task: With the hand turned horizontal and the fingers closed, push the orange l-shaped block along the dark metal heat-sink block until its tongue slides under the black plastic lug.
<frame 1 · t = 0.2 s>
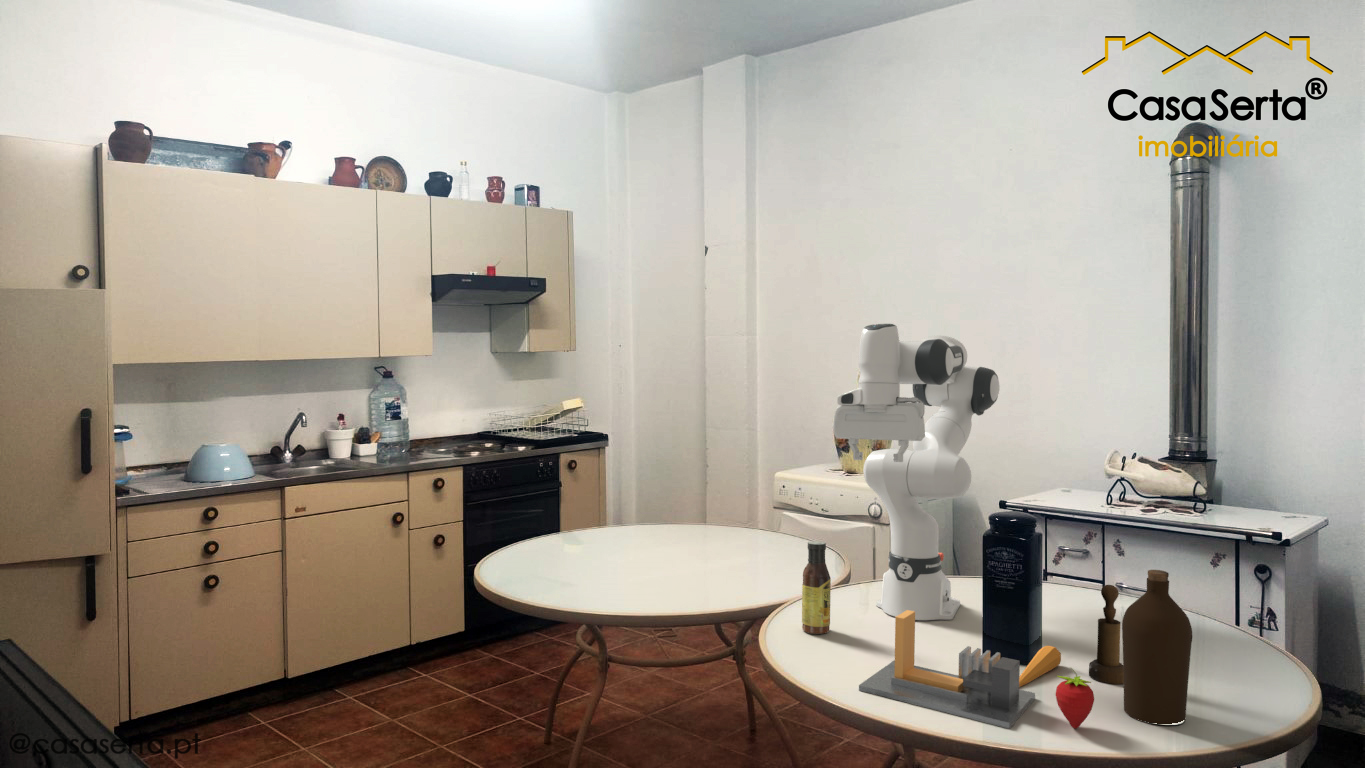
hand: (877, 461, 189), 39 cm above the table, tool pointing down, fingers open, 8 cm apart
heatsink: (946, 694, 159), on the table
orange l-shaped block: (930, 651, 161), point 7 cm above the table, slide at 0.0 cm
carrot: (1031, 678, 168), on the table
sauce bottle: (815, 631, 195), on the table
strawberry: (1073, 729, 145), on the table
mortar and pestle: (1107, 679, 168), on the table
olive oil: (1154, 716, 151), on the table
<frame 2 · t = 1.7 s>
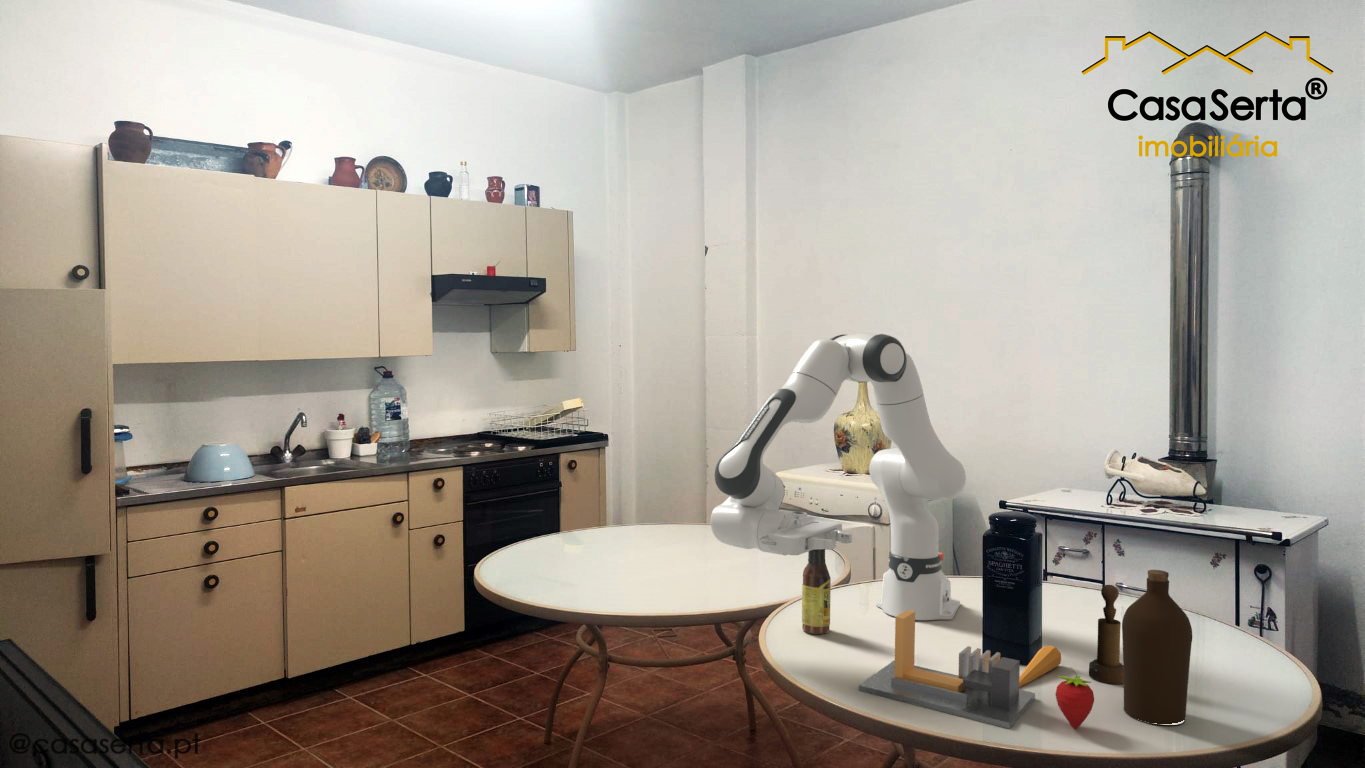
hand: (842, 542, 171), 25 cm above the table, tool horizontal, fingers open, 6 cm apart
nothing on the table moved.
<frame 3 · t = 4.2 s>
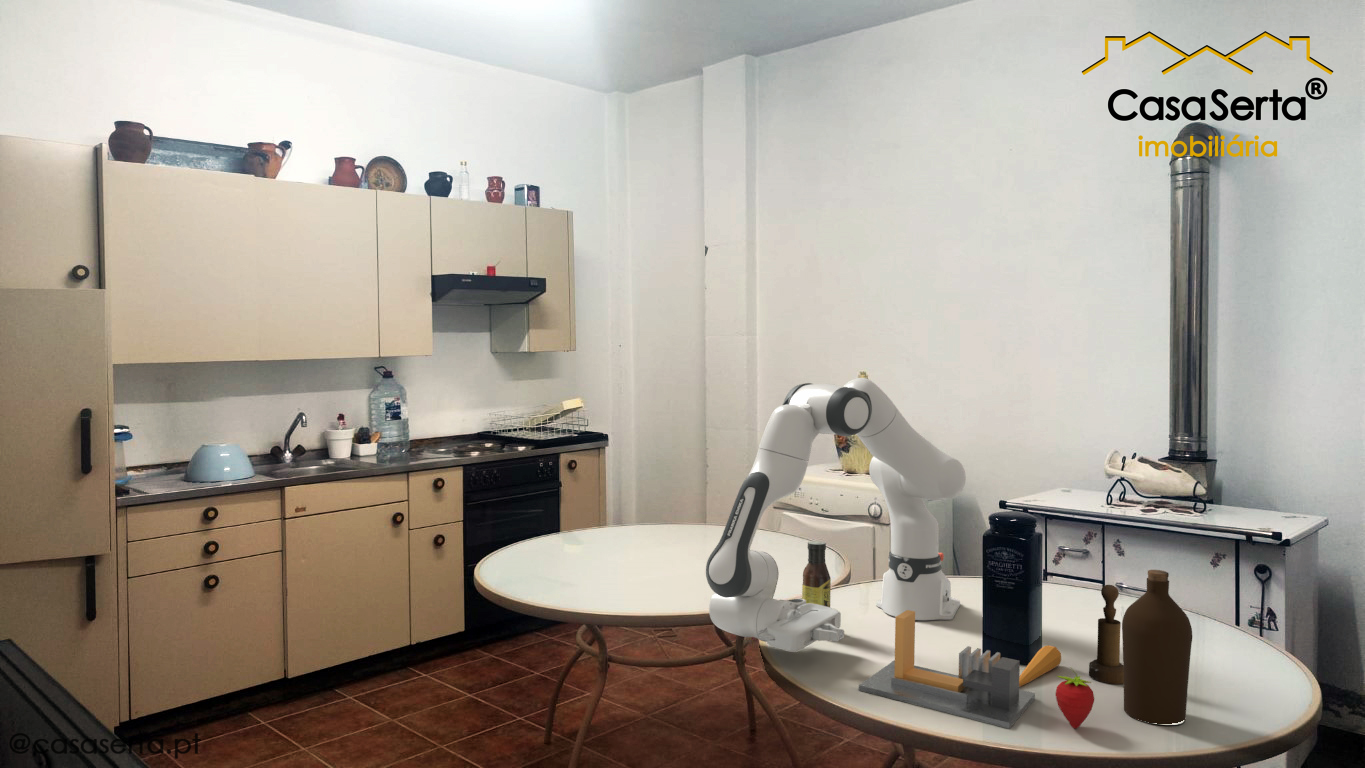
hand: (841, 635, 171), 7 cm above the table, tool horizontal, fingers closed
nothing on the table moved.
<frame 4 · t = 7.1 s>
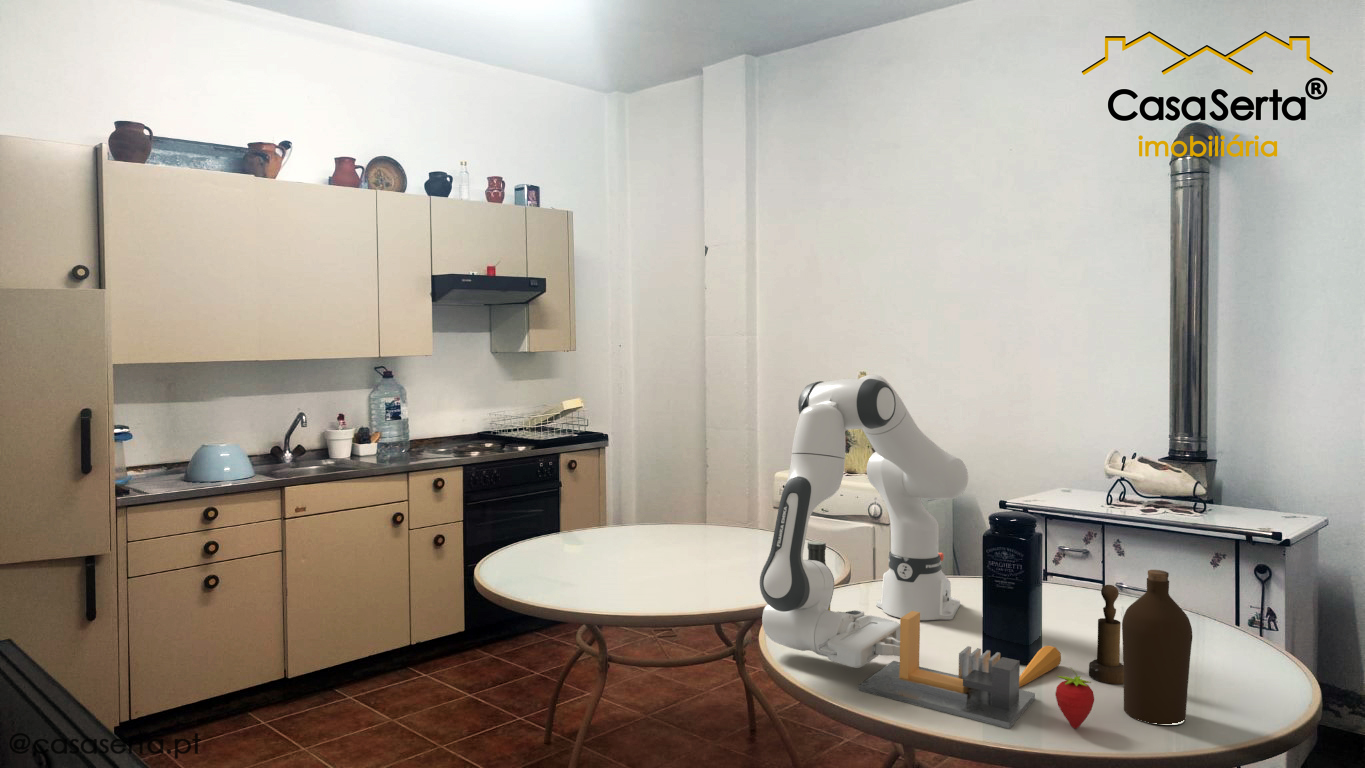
hand: (905, 650, 163), 6 cm above the table, tool horizontal, fingers closed, pressing on orange l-shaped block
orange l-shaped block: (935, 652, 160), point 7 cm above the table, slide at 1.0 cm, touching gripper
everything else where it was.
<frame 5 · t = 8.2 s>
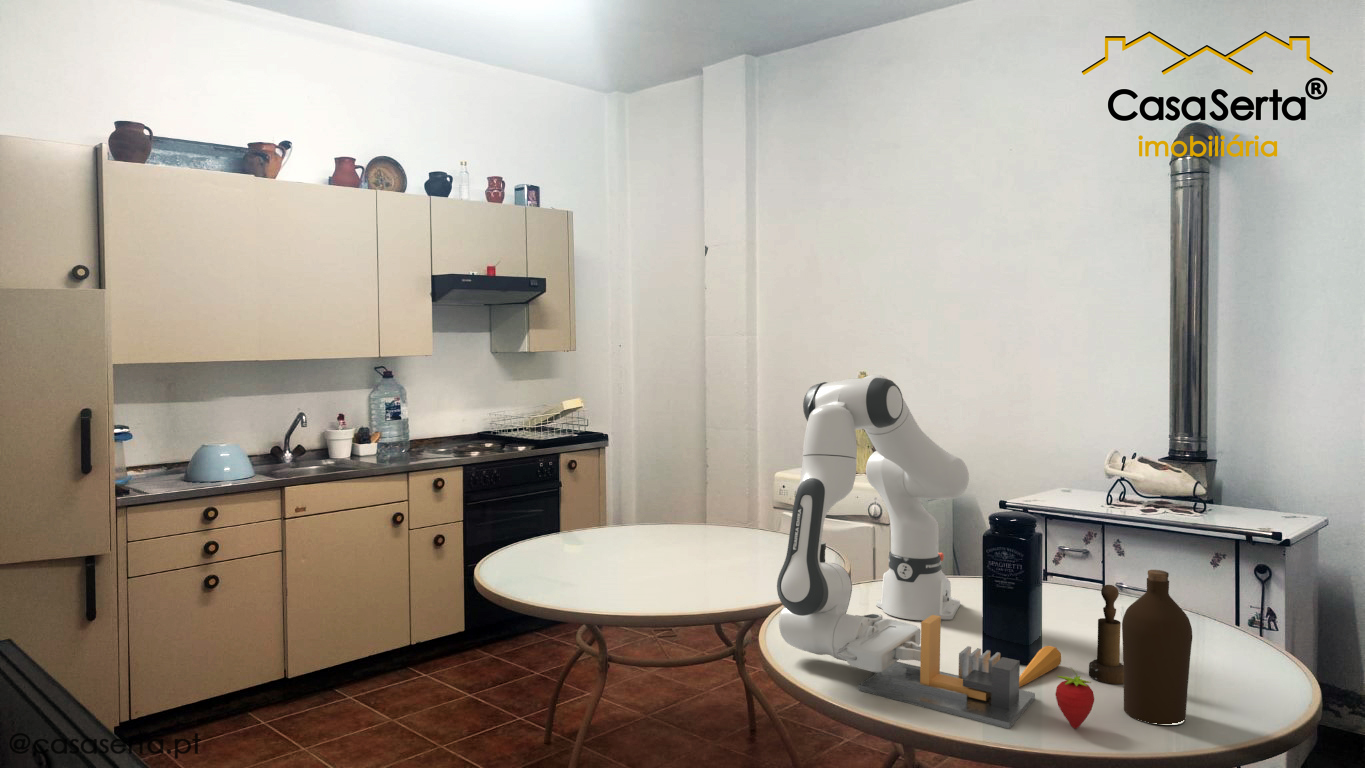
hand: (925, 654, 161), 6 cm above the table, tool horizontal, fingers closed, pressing on orange l-shaped block
orange l-shaped block: (957, 657, 158), point 7 cm above the table, slide at 4.9 cm, touching gripper
everything else where it was.
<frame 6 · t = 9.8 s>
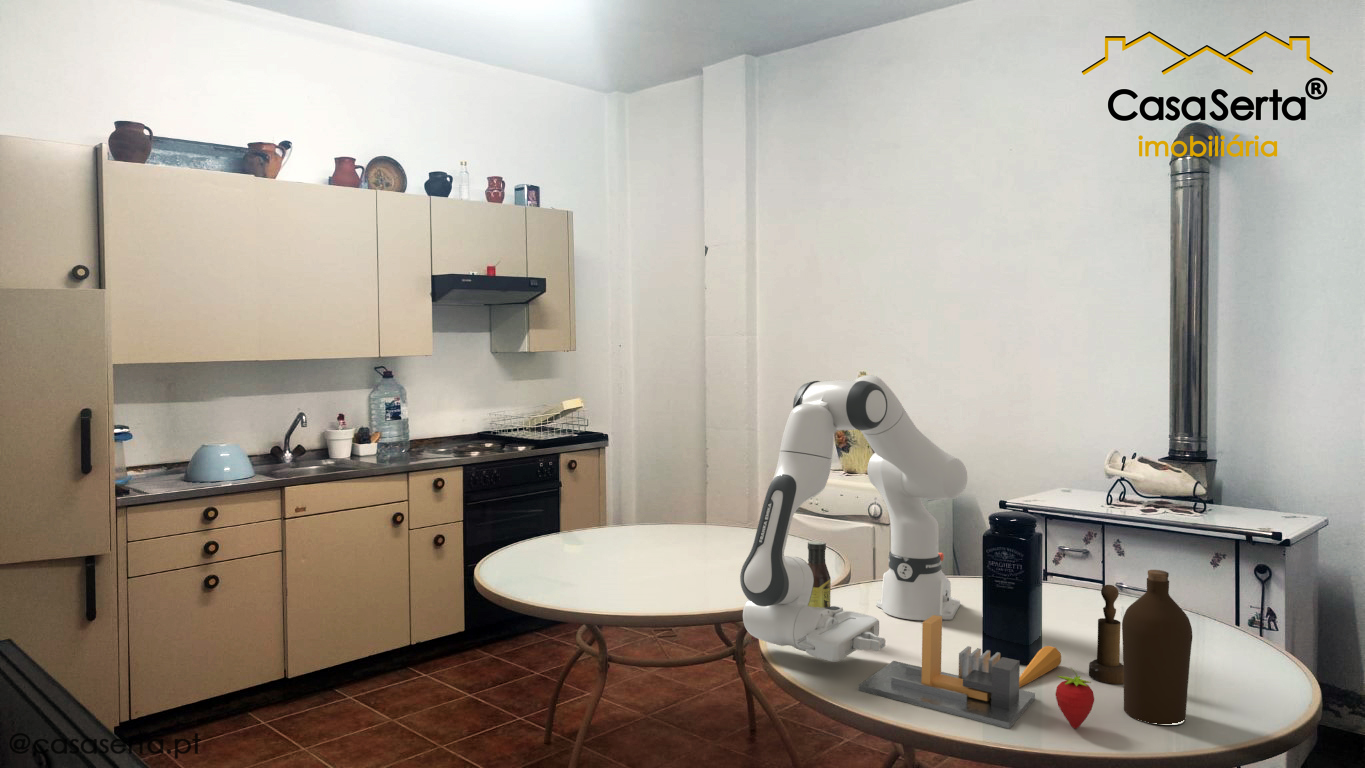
hand: (882, 644, 166), 7 cm above the table, tool horizontal, fingers closed
orange l-shaped block: (958, 657, 157), point 7 cm above the table, slide at 5.2 cm
everything else where it was.
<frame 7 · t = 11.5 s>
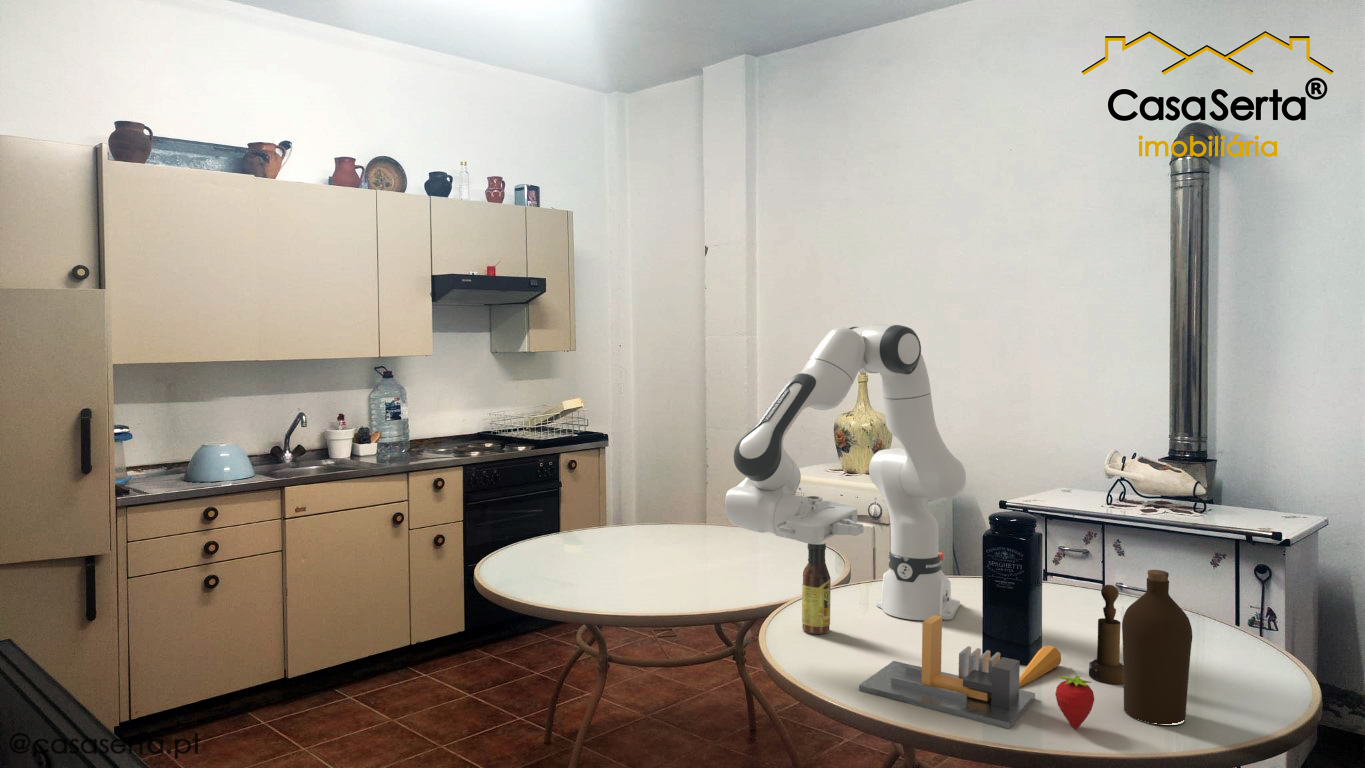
hand: (860, 530, 169), 28 cm above the table, tool horizontal, fingers closed
nothing on the table moved.
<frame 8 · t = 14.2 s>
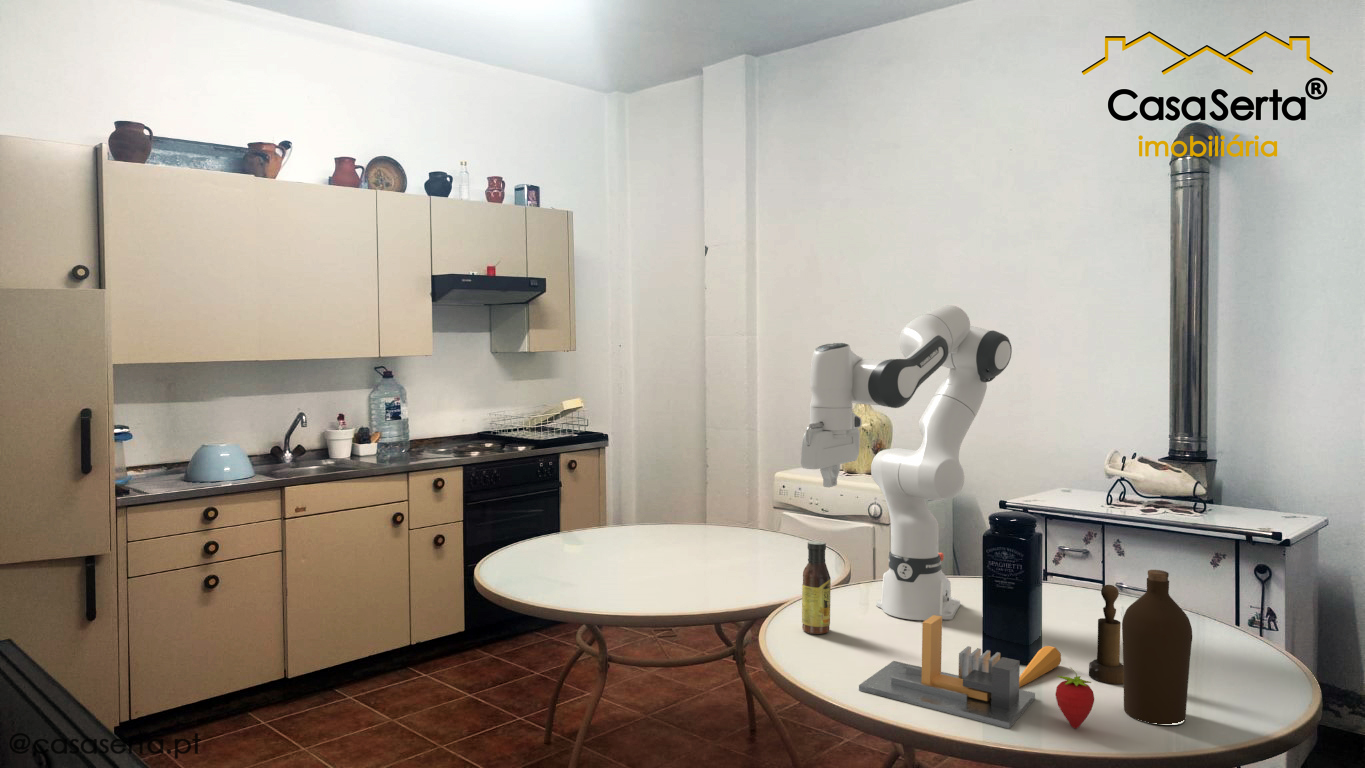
hand: (830, 486, 183), 34 cm above the table, tool pointing down, fingers closed
nothing on the table moved.
at the end: orange l-shaped block slide at 5.2 cm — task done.
